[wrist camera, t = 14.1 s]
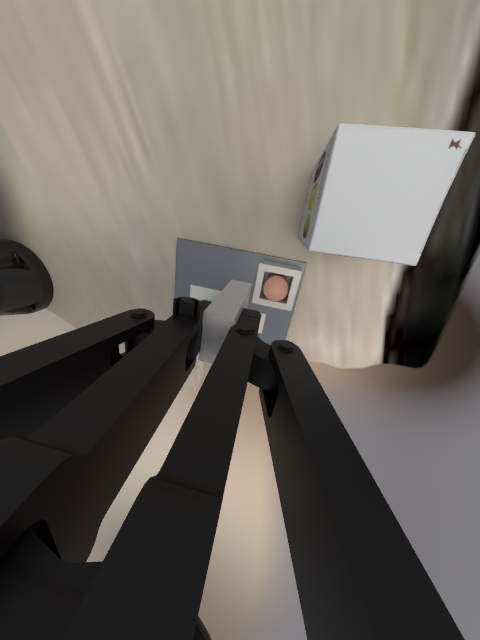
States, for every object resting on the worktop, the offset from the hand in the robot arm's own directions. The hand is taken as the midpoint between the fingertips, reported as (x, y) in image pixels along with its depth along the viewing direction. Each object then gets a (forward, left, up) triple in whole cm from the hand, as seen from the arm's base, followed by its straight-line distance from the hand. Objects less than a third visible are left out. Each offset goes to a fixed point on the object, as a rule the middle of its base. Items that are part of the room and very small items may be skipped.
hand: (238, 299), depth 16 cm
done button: (+3, -3, -21) cm, 22 cm away
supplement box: (+9, +9, -23) cm, 26 cm away
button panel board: (-4, -7, -22) cm, 24 cm away
